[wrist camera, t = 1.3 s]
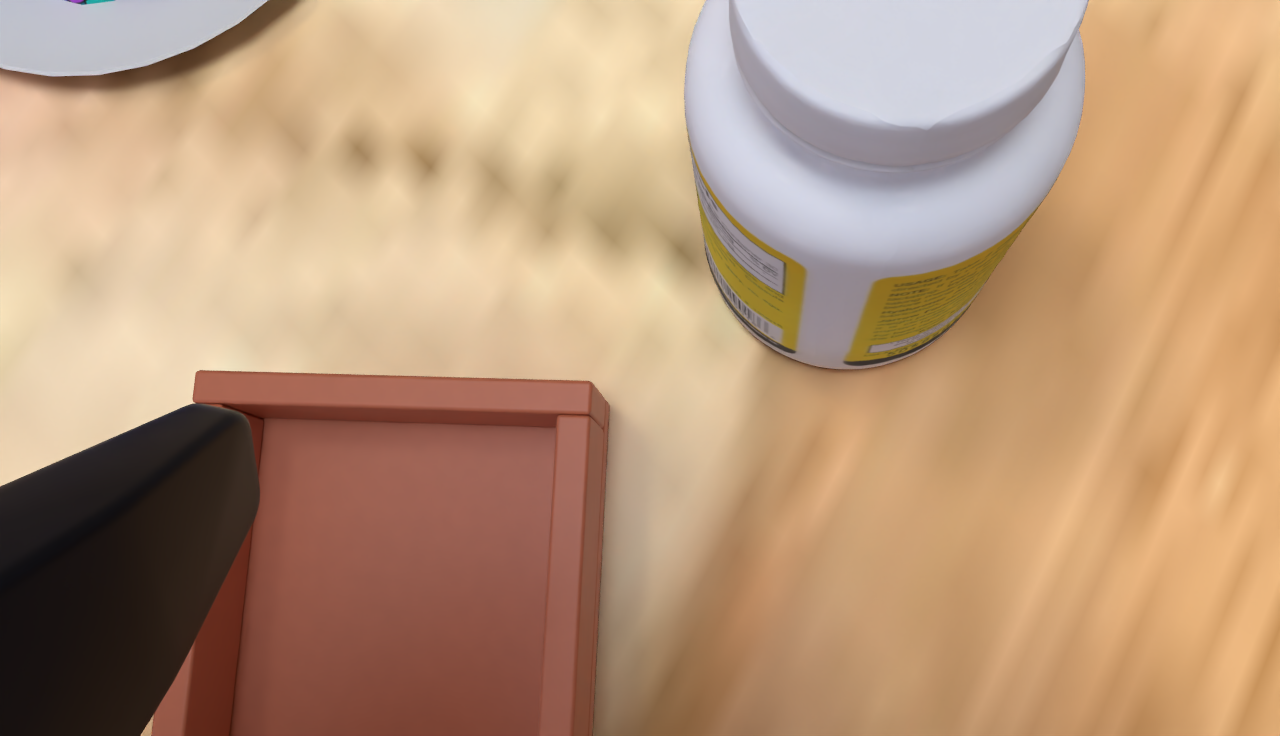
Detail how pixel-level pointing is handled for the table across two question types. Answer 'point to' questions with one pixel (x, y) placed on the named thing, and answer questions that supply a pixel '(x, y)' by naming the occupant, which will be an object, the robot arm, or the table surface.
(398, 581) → the terracotta tray
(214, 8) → the pudding
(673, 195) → the table surface
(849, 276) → the supplement bottle
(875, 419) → the table surface
